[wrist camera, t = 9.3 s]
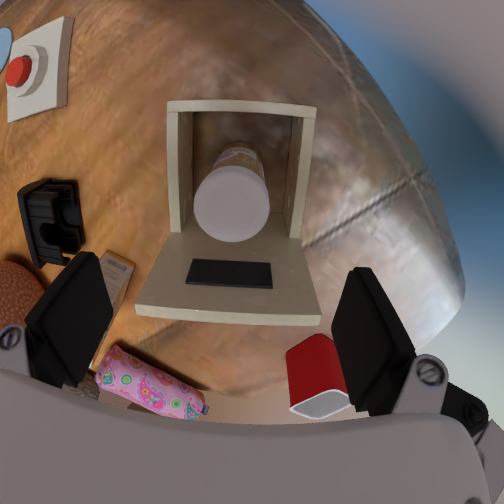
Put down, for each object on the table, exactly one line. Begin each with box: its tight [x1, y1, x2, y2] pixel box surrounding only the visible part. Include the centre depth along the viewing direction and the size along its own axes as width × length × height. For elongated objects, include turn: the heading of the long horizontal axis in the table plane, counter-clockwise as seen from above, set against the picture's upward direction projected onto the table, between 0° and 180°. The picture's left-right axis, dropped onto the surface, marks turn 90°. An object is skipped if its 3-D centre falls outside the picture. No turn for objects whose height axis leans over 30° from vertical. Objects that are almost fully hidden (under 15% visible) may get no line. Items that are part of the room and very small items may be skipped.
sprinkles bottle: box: [193, 142, 269, 242], centre depth 21 cm, size 5×5×14 cm
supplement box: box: [89, 250, 135, 368], centre depth 29 cm, size 8×5×13 cm, turn 149°
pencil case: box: [95, 344, 209, 420], centre depth 43 cm, size 21×9×9 cm, turn 44°
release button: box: [5, 57, 32, 86], centre depth 15 cm, size 4×4×2 cm
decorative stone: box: [62, 372, 100, 401], centre depth 45 cm, size 10×8×10 cm
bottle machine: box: [134, 99, 322, 326], centre depth 20 cm, size 13×12×16 cm
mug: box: [286, 334, 351, 420], centre depth 39 cm, size 12×8×11 cm
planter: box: [0, 261, 45, 331], centre depth 30 cm, size 17×17×15 cm
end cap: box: [17, 179, 85, 269], centre depth 26 cm, size 10×7×7 cm
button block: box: [6, 16, 74, 123], centre depth 17 cm, size 12×10×4 cm
